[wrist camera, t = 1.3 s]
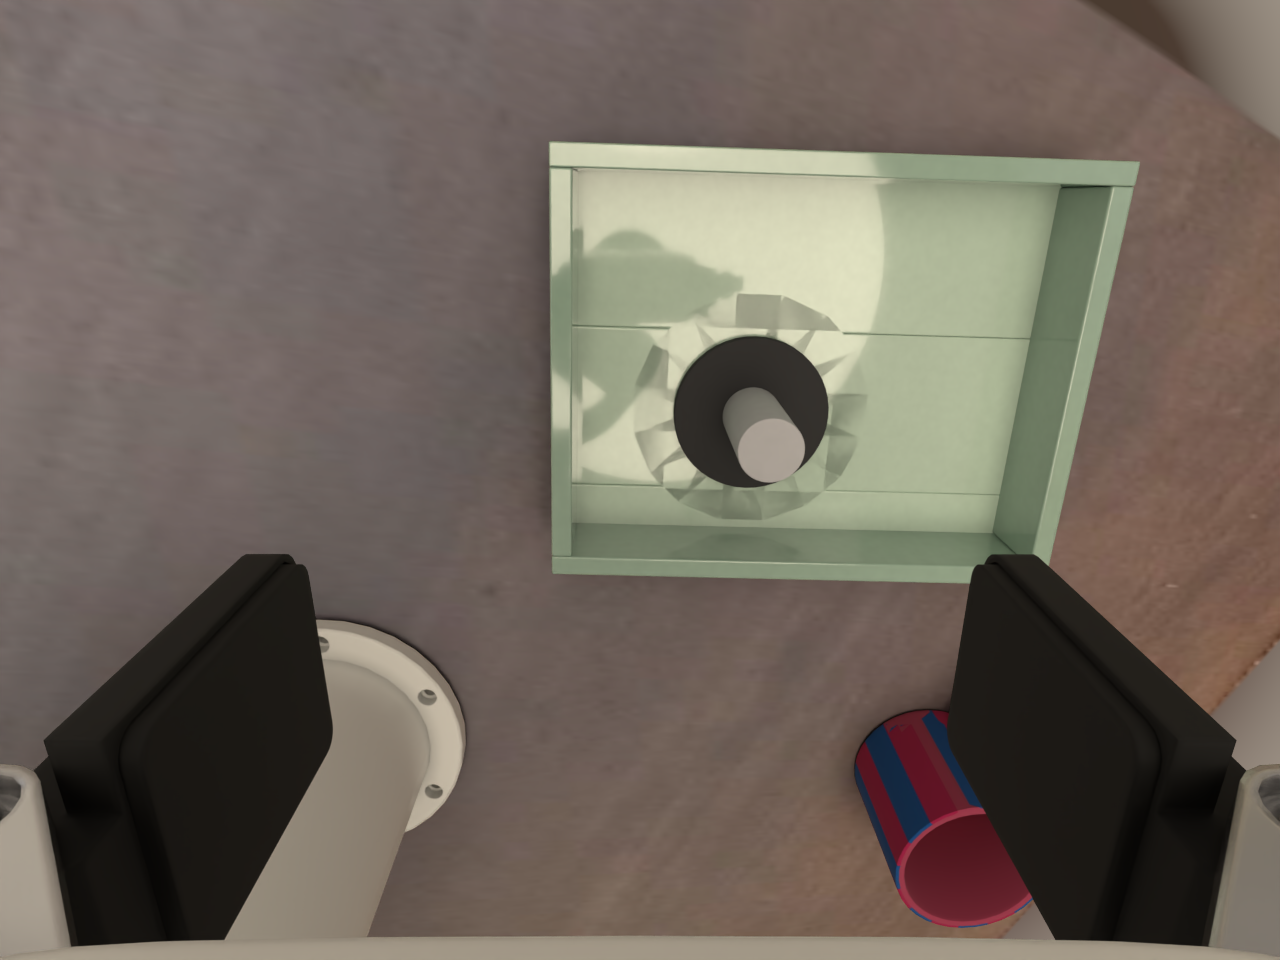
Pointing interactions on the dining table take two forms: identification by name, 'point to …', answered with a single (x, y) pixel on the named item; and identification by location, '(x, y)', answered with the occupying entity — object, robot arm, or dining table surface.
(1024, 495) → the sink
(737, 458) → the plug
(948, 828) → the mug
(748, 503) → the sink floor
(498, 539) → the dining table surface
